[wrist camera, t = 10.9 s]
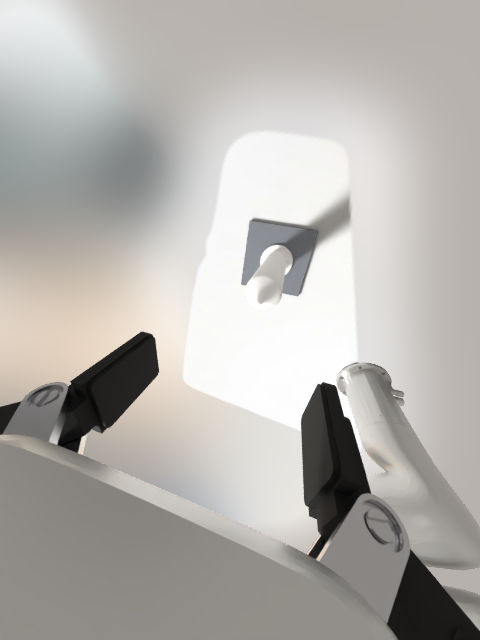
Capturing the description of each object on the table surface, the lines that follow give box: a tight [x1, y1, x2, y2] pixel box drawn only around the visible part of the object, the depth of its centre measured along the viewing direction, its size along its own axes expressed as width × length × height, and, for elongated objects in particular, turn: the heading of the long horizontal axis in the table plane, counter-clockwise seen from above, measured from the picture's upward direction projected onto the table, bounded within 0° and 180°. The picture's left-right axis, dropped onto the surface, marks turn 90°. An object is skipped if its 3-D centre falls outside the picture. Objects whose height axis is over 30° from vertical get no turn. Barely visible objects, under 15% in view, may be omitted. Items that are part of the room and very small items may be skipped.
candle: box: [245, 245, 293, 310], centre depth 30 cm, size 7×7×25 cm
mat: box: [241, 221, 318, 296], centre depth 41 cm, size 14×14×1 cm
